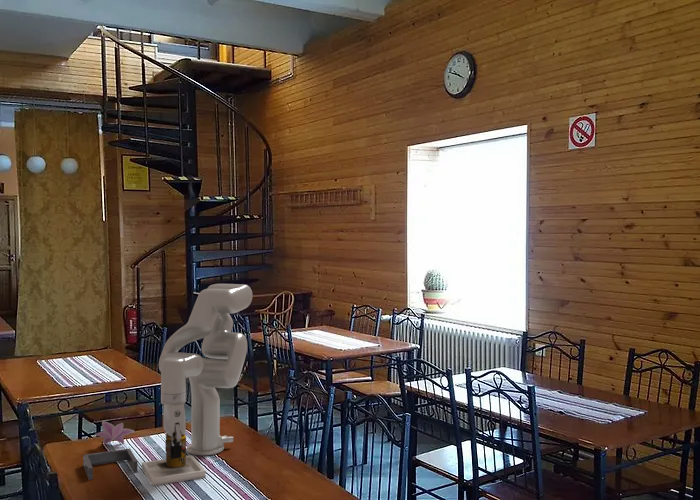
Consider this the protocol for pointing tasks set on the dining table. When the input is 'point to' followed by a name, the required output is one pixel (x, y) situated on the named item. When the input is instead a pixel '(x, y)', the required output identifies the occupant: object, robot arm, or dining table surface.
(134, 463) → the bracket
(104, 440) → the lily
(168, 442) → the condiment
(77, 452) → the dining table surface
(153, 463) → the tray
